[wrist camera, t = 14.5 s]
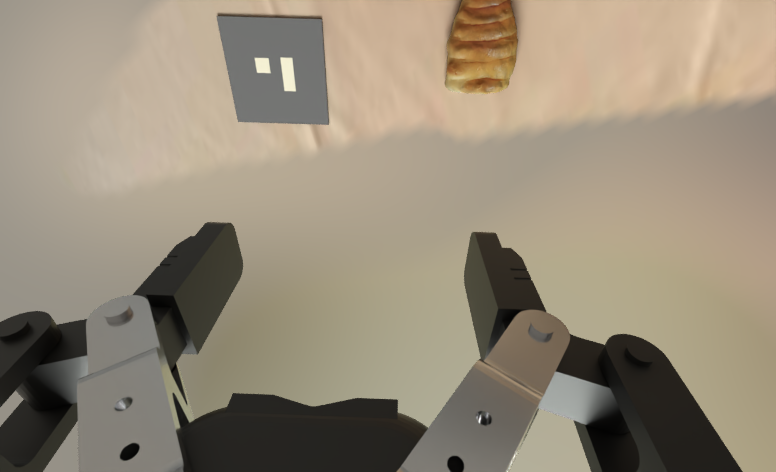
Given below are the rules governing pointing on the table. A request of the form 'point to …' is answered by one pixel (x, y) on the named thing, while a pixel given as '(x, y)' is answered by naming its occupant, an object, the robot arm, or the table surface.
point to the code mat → (276, 69)
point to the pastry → (481, 47)
